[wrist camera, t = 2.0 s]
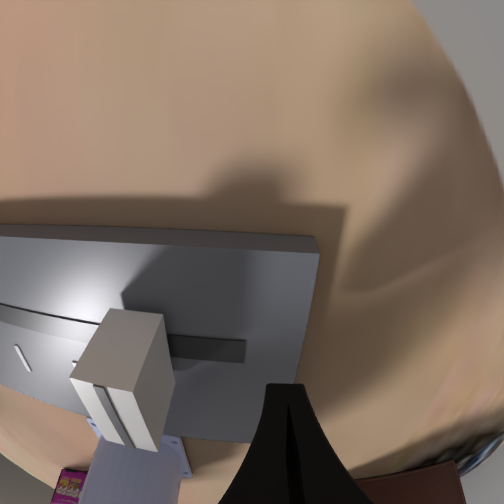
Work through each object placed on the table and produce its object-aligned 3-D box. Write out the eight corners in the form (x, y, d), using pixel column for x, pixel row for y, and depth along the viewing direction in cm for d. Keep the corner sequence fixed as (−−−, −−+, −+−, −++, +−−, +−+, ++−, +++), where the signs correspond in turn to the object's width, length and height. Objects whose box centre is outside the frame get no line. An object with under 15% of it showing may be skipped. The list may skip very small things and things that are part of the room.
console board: (278, 425, 19) (278, 445, 17) (-32, 354, 19) (-39, 364, 17) (313, 236, 12) (320, 255, 11) (-85, 223, 12) (-97, 232, 11)
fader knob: (175, 383, 14) (157, 454, 10) (130, 376, 14) (105, 441, 10) (163, 314, 12) (131, 394, 8) (110, 307, 12) (67, 379, 8)
